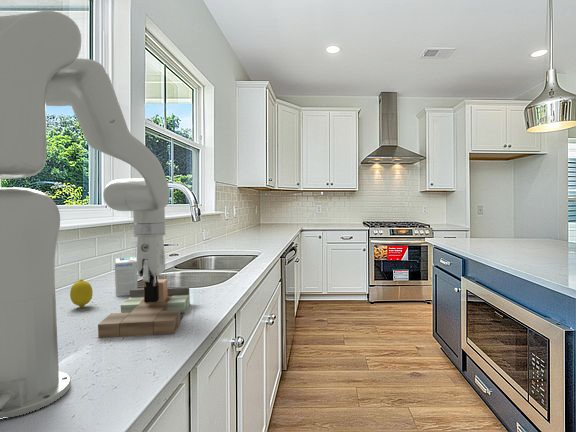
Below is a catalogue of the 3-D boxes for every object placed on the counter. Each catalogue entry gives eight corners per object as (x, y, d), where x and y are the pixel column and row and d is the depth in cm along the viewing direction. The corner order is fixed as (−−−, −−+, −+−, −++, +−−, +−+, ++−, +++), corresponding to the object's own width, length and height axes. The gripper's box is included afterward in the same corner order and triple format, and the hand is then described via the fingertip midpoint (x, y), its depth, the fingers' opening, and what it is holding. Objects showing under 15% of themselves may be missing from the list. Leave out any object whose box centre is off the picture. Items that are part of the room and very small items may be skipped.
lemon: (83, 310, 100) (82, 281, 100) (65, 309, 101) (64, 281, 101) (97, 305, 106) (96, 277, 105) (80, 304, 107) (79, 277, 107)
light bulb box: (115, 289, 125) (114, 258, 124) (137, 287, 128) (136, 256, 127) (115, 296, 115) (114, 262, 115) (138, 294, 118) (137, 260, 117)
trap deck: (174, 333, 81) (173, 311, 81) (98, 338, 79) (97, 315, 79) (189, 304, 105) (189, 286, 105) (131, 306, 103) (131, 289, 103)
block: (163, 301, 97) (163, 283, 97) (144, 302, 96) (143, 283, 96) (167, 296, 102) (167, 279, 102) (148, 297, 101) (148, 279, 101)
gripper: (158, 232, 86) (160, 309, 87) (170, 227, 101) (172, 293, 102) (124, 232, 85) (127, 310, 86) (142, 228, 100) (144, 294, 101)
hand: (151, 301), depth 94 cm, fingers closed
